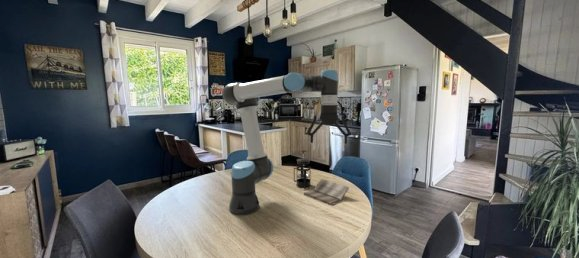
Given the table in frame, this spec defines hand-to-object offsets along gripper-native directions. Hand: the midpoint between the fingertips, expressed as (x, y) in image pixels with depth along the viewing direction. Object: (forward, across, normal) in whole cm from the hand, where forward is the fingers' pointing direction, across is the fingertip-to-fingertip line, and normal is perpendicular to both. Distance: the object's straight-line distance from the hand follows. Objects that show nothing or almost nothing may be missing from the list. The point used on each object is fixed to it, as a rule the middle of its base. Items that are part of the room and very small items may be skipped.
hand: (328, 150), depth 114 cm
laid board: (+31, -4, +19) cm, 37 cm away
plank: (+29, +2, +26) cm, 39 cm away
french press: (+32, -16, +39) cm, 53 cm away
